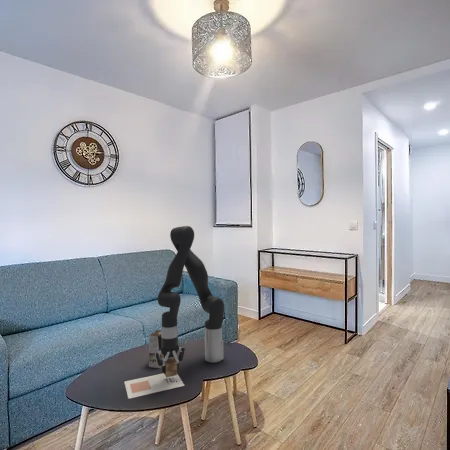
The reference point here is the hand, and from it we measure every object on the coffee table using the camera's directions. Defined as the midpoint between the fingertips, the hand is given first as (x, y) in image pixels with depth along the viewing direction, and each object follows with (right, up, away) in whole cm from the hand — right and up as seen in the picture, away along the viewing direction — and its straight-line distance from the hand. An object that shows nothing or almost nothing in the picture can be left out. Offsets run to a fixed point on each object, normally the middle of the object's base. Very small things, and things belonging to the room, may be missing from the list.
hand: (170, 371), depth 138 cm
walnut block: (0, -1, 0) cm, 1 cm away
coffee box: (-9, -4, +17) cm, 20 cm away
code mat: (-7, -4, -3) cm, 8 cm away
